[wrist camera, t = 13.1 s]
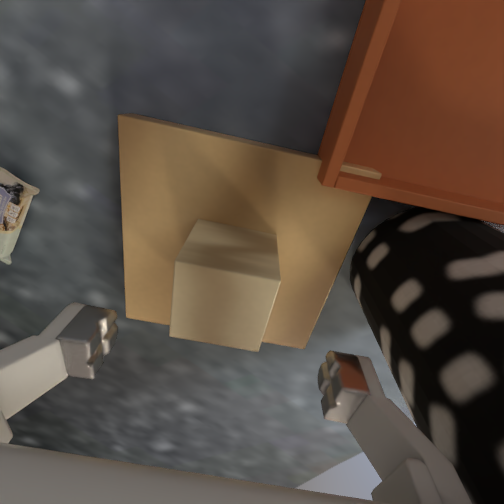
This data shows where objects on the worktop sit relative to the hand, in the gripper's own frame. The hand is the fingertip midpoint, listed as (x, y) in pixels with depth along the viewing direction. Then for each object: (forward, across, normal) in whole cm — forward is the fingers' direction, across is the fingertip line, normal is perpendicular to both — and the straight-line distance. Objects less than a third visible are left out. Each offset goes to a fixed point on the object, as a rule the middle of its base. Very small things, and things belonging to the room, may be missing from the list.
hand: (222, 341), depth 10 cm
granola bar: (+8, +14, +1) cm, 16 cm away
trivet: (+8, 0, 0) cm, 8 cm away
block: (+6, 0, 0) cm, 7 cm away
